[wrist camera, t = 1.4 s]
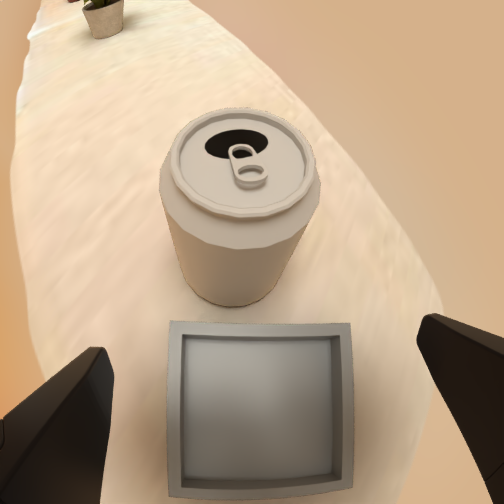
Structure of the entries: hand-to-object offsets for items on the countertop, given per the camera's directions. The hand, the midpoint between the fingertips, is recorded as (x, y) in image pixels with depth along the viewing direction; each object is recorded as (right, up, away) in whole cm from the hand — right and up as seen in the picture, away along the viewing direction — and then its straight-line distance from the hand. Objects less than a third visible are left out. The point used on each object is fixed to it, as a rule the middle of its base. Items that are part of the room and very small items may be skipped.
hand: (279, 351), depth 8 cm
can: (-2, +2, +16) cm, 16 cm away
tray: (0, -8, +11) cm, 14 cm away
